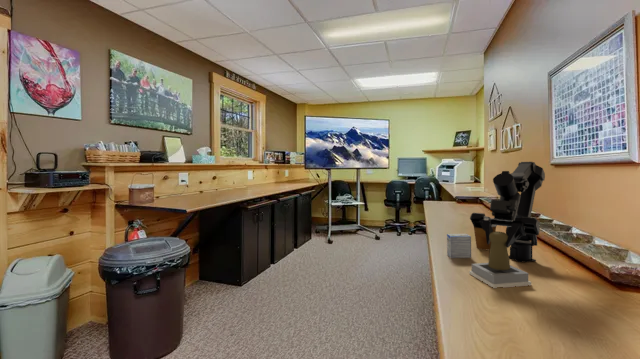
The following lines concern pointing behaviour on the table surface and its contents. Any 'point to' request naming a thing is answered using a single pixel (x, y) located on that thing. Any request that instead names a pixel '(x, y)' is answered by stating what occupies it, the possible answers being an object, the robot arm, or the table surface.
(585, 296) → the table surface
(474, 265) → the socket plate
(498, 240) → the cork
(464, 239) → the medicine box
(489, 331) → the table surface
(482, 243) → the disposable coffee cup
